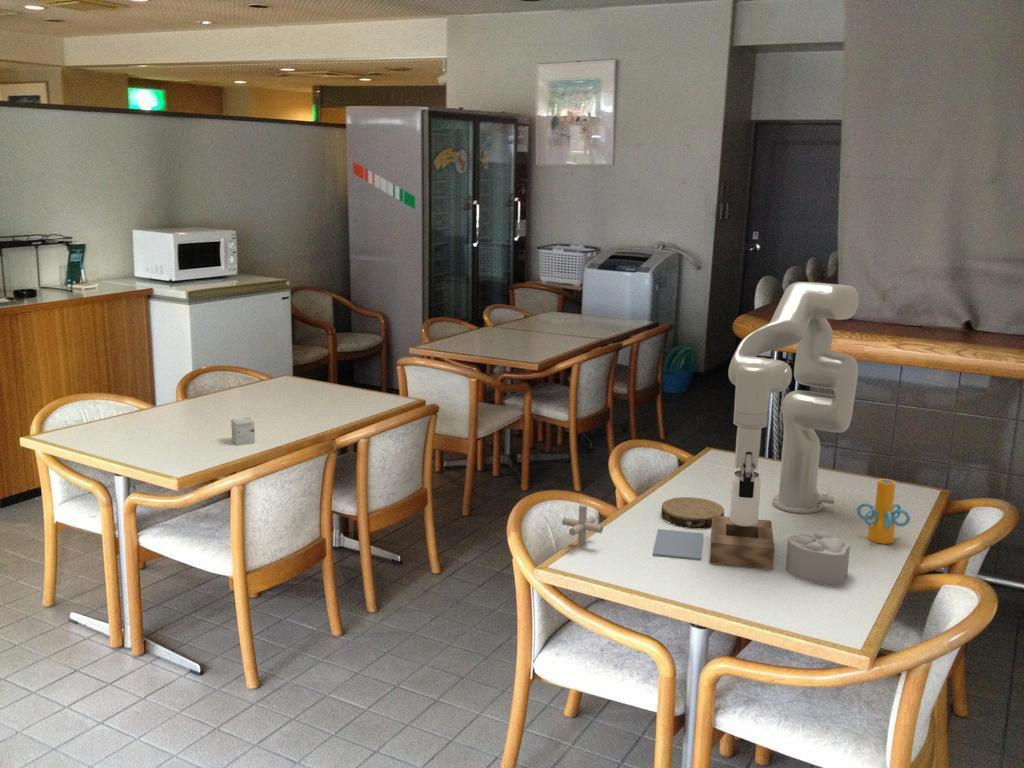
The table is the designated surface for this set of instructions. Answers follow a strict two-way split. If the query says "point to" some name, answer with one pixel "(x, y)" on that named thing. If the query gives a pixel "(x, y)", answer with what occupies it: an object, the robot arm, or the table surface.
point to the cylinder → (883, 514)
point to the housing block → (742, 543)
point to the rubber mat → (678, 544)
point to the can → (744, 503)
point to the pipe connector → (582, 525)
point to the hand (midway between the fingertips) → (745, 491)
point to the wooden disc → (691, 512)
